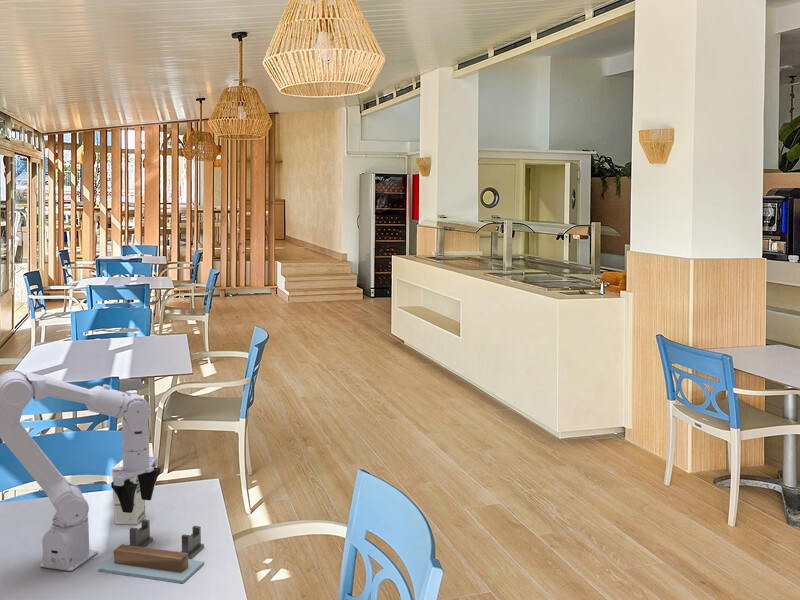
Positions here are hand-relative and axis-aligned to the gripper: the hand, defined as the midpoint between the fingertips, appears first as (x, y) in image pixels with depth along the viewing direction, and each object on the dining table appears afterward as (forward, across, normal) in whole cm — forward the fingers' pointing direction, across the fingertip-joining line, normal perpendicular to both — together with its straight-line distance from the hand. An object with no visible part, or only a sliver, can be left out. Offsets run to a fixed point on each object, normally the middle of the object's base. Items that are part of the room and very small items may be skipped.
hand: (137, 505), depth 175 cm
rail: (+9, -9, -9) cm, 15 cm away
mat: (+9, -9, -9) cm, 16 cm away
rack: (+9, 0, -7) cm, 12 cm away
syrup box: (+10, +12, +10) cm, 18 cm away
